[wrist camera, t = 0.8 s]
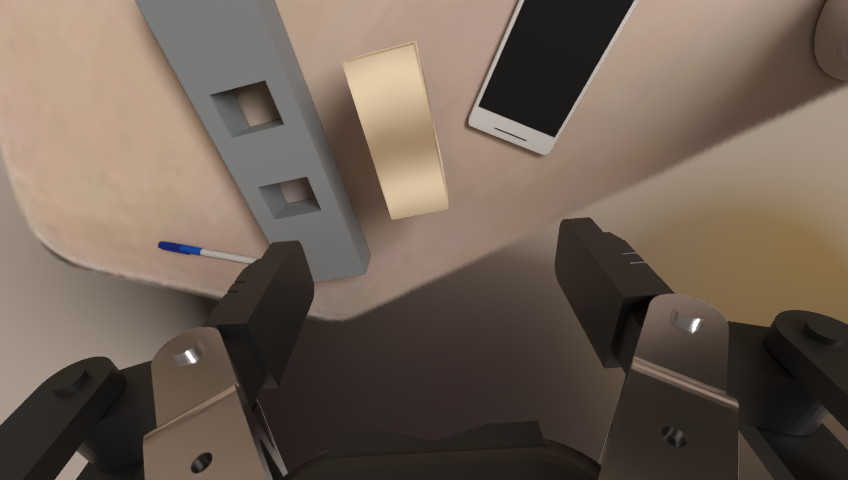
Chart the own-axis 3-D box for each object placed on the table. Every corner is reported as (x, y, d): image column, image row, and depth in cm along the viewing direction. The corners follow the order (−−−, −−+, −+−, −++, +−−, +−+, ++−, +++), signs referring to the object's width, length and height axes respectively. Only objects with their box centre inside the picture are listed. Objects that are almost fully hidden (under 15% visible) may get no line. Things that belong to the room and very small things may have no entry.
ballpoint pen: (162, 246, 35) (156, 252, 34) (160, 239, 35) (153, 244, 34) (269, 263, 36) (265, 269, 35) (269, 256, 35) (264, 262, 34)
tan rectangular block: (364, 52, 25) (341, 63, 19) (418, 37, 24) (413, 44, 18) (400, 180, 30) (391, 220, 24) (446, 170, 30) (448, 209, 24)
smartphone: (679, -81, 21) (689, -85, 20) (544, 153, 29) (547, 157, 28) (576, -138, 20) (582, -145, 19) (465, 122, 28) (466, 125, 27)
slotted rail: (156, -19, 23) (121, -24, 21) (255, -51, 22) (231, -60, 19) (303, 266, 36) (293, 286, 33) (370, 255, 34) (365, 273, 32)
